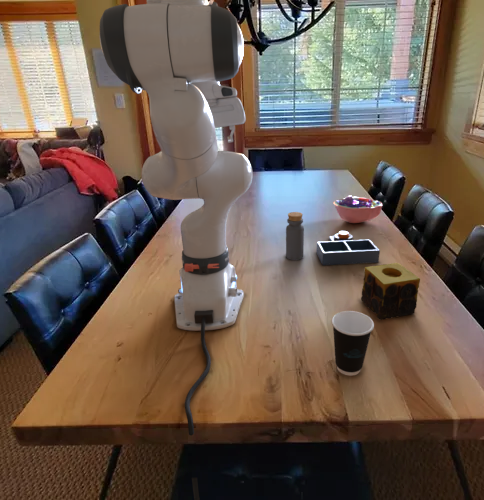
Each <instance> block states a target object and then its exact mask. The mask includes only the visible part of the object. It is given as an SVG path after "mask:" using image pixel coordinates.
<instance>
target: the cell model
mask: <svg viewBox="0 0 484 500" xmlns="http://www.w3.org/2000/svg"><path fill="white" fill-rule="evenodd" d="M332 204H333V205H334V207H335V210H336V213H337V214H338V216H339V218H340V219H341V220H342V221H344V222H347V223H350V224H360V223H361V224H362V223H364V222H371V221H372V220H374V219H376V218H378V216H380V214H381V212H382V208H383V202H382V201H380V200H375V199H371V198H368V197H359V196H352V195H348V196H346V197H345V198H339V199H336V200H334V201H333V202H332Z"/></svg>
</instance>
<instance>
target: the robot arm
mask: <svg viewBox="0 0 484 500" xmlns="http://www.w3.org/2000/svg"><path fill="white" fill-rule="evenodd" d="M99 19H100V20H99V44H100V48H101V51H102V55H103V56H104V60H105V62H106V64H107V66H108V68H109V69H110V70H111V72H112V73H113V74H114V75H115V76H116V78H118V79H119V80H120V81H121V82H123V83H124V84H126V85H128V86H129V88H130V91H132V92H133V93H135V94H137V95H140V94H142V91H144V92H146V94H147V95H148V98H149V99H148V100H149V116H150V121H151V122H150V123H151V126H152V131H153V135H154V137H155V140H156V142H157V144H158V146H159V149H160V151H159V152H157V153H155V154H153V155H150V156H148V157H147V158H146V160H145V161H144V163H143V165H142V168H141V181H142V185H143V187H144V189H145V190H146V191H147V193H148V194H149V195H150V196H152V197H153V198H159V199H164V200H172V201H173V200H174V201H177V200H203V204H202V206H201V207H199V208H197V209H195V210H193V211H192V212H190V213H188V214H187V215H186V216H185V217H184V218H183V219H182V220H181V223H180V235H181V244H182V245H181V246H182V251H181V263H182V267H181V268H180V269H179V270H178V272H179V281H180V288H178V290H177V291H178V292H177V293H175V294H174V296H173V300H174V311H175V312H174V313H175V321H176V322H175V323H176V328H178V329H180V330H184V331H193V332H195V331H196V332H197V331H198V332H200V343H201V349H202V351H203V354H204V356H205V359H206V364H205V368H204V370H203V372H202V374H201V375H200V376H199V378H198V379H197V380H196V381H195V382H194V384H193V385H192V386H191V387H190V389H189V390H188V392H187V393H186V397H185V400H184V411H185V415H186V420H187V428H188V436H190V437H191V436H193V435H194V434H195V429H194V428H195V427H194V419H193V415H192V410H191V401H192V398H193V395H194V394H195V392H196V390H197V389H198V387H199V386H200V385H201V384H202V382H203V381H205V379H206V377H207V376H208V374H209V372H210V370H211V365H212V358H211V355H210V353H209V350H208V347H207V344H206V339H205V338H206V331H213V330H220V329H224V328H227V327H231V326H233V325H235V323H236V321H237V318H238V315H239V312H240V309H241V306H242V303H243V300H244V297H245V292H244V290H242V289H239V288H238V287H237V280H238V275H237V274H236V267H235V266H234V265H232V264H231V262H230V252H229V248H228V246H227V220H228V216H229V213H230V211H231V209H232V207H233V205H234V204H235V203H236V202H237V200H238V199H239V198H240V197H242V196H243V195H245V193H247V191H248V190H249V188H250V187H251V185H252V182H253V177H254V174H253V173H254V172H253V167H252V164H251V162H250V160H249V159H248V157H246V156H245V154H243V153H240V152H235V151H228V150H219V148H218V139H217V133H216V129H218V128H225V127H229V130H230V131H231V132H230V135H228V136H226V139H227V143H228V144H229V143H234V134H235V130H236V127H235V126H239V125H243V124H245V122H246V121H247V118H246V114H245V110H244V106H243V103H242V101H241V99H240V98H239V97H238V91H237V89H236V88H235V87H230V86H226V85H221V84H220V82H223V81H227V80H231V79H233V78H235V77H236V75H237V74H238V73H239V68H240V66H241V64H242V62H243V61H242V60H243V57H244V47H245V46H244V37H243V33H242V30H241V28H240V26H239V23H238V19H237V18H236V16H234V14H233V13H232V12H231V11H230V10H229V9H227V8H224V7H221V6H219V5H218V2H216V1H212V4H210V3H209V1H208V0H146V3H143V4H135V5H129V4H127V3H122V4H118V5H115V6H111V7H109V8H106V9H105V10H104V11H103V13H102V14H101V17H100V18H99ZM191 483H192V491H193V499H194V500H200V492H199V484H198V477H191Z"/></svg>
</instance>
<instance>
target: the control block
mask: <svg viewBox="0 0 484 500" xmlns="http://www.w3.org/2000/svg"><path fill="white" fill-rule="evenodd" d="M338 234H339V232H338V233H335V234H334V235H330V236H328V241H345V240H354V236H353V235H352V234H351V233H349V237H348V238H340V237H338Z"/></svg>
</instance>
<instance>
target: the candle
mask: <svg viewBox="0 0 484 500" xmlns="http://www.w3.org/2000/svg"><path fill="white" fill-rule="evenodd" d="M420 283H421V278H420V277H419V276H417V275H416V274H415V273H414V272H413V271H410V270H409V269H407V268H406V267H405V266H403V265H402V264H400V263H399V262H391V263H385V264H379V265H372V266H365V267H364V275H363V285H362V289H361V297H360V301H361V302H362V303H363V304H364V305H365V306H366V307H367V309H368V310H369V311H371V312H372V313H373V314H375V316H376V318H377V319H378V320H380V321H382V320H387V319H389V320H390V319H393V318H395V319H396V318H400V317H403V316H409V315H413V314H415V313H416V308H417V303H418V293H419V287H420Z"/></svg>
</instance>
